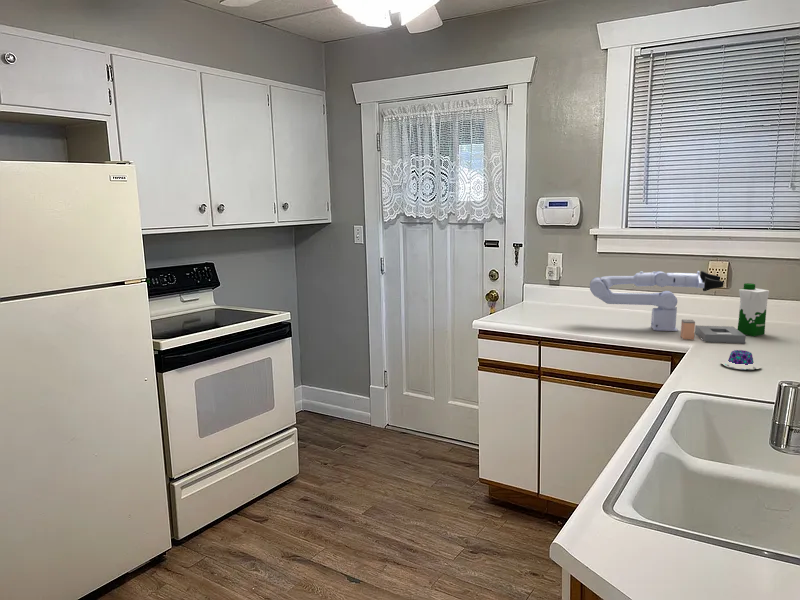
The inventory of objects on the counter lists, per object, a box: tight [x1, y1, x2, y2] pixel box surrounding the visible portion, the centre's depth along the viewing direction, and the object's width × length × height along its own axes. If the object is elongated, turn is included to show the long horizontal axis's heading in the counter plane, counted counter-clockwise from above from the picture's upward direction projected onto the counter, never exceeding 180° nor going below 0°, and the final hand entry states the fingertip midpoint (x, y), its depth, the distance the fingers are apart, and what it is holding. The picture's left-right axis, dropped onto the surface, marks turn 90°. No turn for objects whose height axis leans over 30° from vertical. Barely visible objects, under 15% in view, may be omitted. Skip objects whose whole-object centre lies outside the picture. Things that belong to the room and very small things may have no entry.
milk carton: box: [736, 282, 770, 337], centre depth 242 cm, size 9×9×20 cm
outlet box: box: [694, 324, 747, 344], centre depth 238 cm, size 14×16×3 cm
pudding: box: [727, 349, 755, 365], centre depth 199 cm, size 12×12×5 cm
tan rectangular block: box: [680, 319, 696, 340], centre depth 238 cm, size 4×4×7 cm
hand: (721, 281), depth 245 cm, fingers open, 7 cm apart
